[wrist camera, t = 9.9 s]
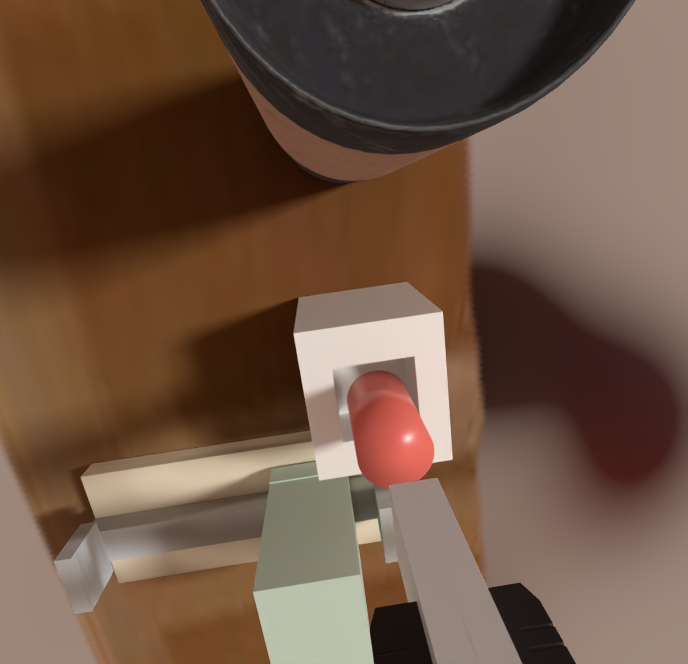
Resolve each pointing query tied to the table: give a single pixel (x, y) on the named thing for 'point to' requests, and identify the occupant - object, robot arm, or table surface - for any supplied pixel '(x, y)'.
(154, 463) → the rail
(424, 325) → the hollow box
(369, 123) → the travel mug
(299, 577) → the carriage
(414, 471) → the button
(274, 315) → the table surface
